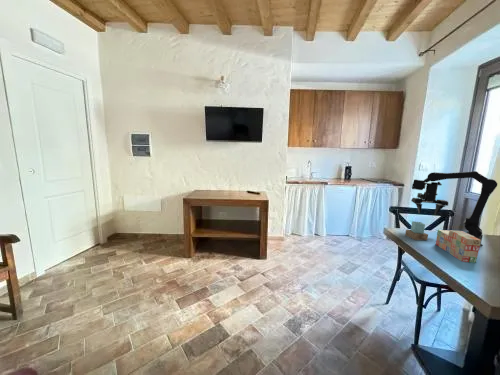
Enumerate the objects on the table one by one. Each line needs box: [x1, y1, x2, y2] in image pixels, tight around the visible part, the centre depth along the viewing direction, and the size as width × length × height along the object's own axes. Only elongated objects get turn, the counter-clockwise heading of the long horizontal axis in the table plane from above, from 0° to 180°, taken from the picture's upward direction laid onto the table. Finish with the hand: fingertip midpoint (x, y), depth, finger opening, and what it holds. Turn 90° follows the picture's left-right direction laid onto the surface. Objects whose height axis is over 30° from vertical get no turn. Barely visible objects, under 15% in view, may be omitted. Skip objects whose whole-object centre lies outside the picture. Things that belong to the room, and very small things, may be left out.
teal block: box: [410, 220, 426, 234], centre depth 137 cm, size 5×5×6 cm
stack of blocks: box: [435, 229, 482, 264], centre depth 117 cm, size 21×6×12 cm, turn 168°
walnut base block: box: [404, 229, 429, 241], centre depth 138 cm, size 8×8×4 cm
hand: (427, 214), depth 146 cm, fingers open, 9 cm apart
